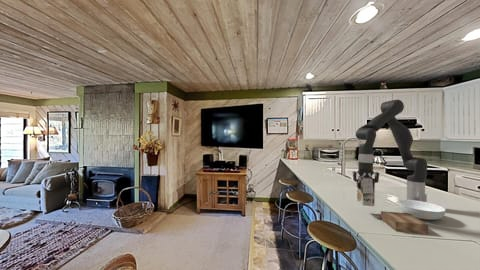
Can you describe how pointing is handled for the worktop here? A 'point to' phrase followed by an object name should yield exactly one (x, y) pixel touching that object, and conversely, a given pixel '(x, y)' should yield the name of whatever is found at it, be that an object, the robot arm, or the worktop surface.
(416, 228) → the walnut block
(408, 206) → the serving bowl
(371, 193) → the coffee box
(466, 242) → the worktop surface
